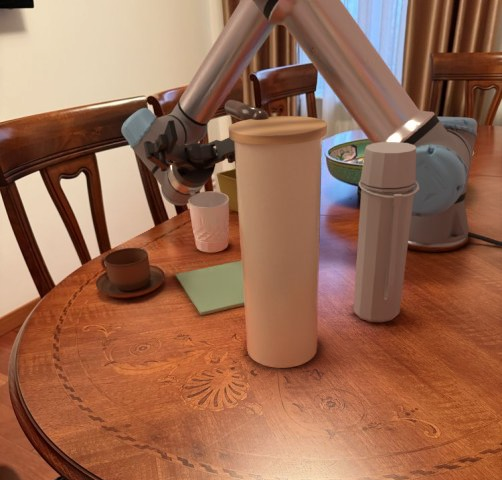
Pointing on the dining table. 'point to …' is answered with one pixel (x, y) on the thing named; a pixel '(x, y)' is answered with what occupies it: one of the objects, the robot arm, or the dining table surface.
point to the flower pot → (229, 187)
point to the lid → (271, 126)
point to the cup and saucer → (128, 274)
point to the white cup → (210, 220)
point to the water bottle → (384, 228)
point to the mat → (214, 287)
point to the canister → (280, 249)
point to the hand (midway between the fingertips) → (218, 124)
